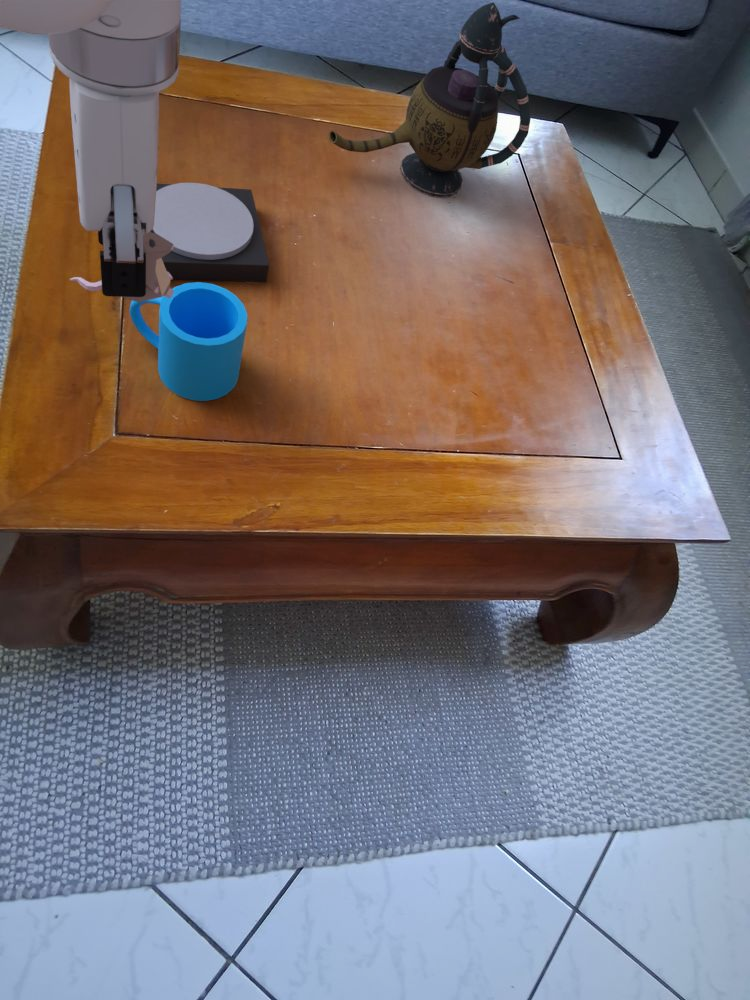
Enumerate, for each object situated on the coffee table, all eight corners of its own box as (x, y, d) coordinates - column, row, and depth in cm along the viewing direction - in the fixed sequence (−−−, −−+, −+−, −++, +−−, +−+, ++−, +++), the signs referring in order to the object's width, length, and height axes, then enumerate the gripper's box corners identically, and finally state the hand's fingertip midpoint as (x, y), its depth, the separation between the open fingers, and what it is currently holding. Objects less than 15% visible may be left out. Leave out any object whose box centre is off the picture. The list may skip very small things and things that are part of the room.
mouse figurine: (69, 257, 62) (62, 187, 56) (171, 263, 64) (173, 196, 59) (69, 304, 59) (62, 235, 54) (175, 308, 62) (178, 243, 56)
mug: (252, 363, 81) (262, 307, 74) (214, 413, 76) (220, 359, 70) (152, 312, 81) (153, 252, 74) (108, 359, 76) (104, 300, 70)
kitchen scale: (130, 278, 83) (129, 255, 80) (121, 199, 89) (120, 174, 86) (266, 282, 88) (270, 259, 85) (249, 206, 94) (252, 183, 91)
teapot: (501, 206, 108) (578, 39, 89) (334, 202, 99) (380, 15, 80) (472, 151, 113) (539, -17, 94) (311, 142, 104) (349, -45, 85)
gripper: (45, -48, 49) (67, 194, 63) (50, 116, 40) (74, 349, 55) (166, -28, 51) (161, 200, 66) (194, 129, 43) (180, 349, 58)
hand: (121, 266), depth 60 cm, fingers closed on mouse figurine, 4 cm apart
